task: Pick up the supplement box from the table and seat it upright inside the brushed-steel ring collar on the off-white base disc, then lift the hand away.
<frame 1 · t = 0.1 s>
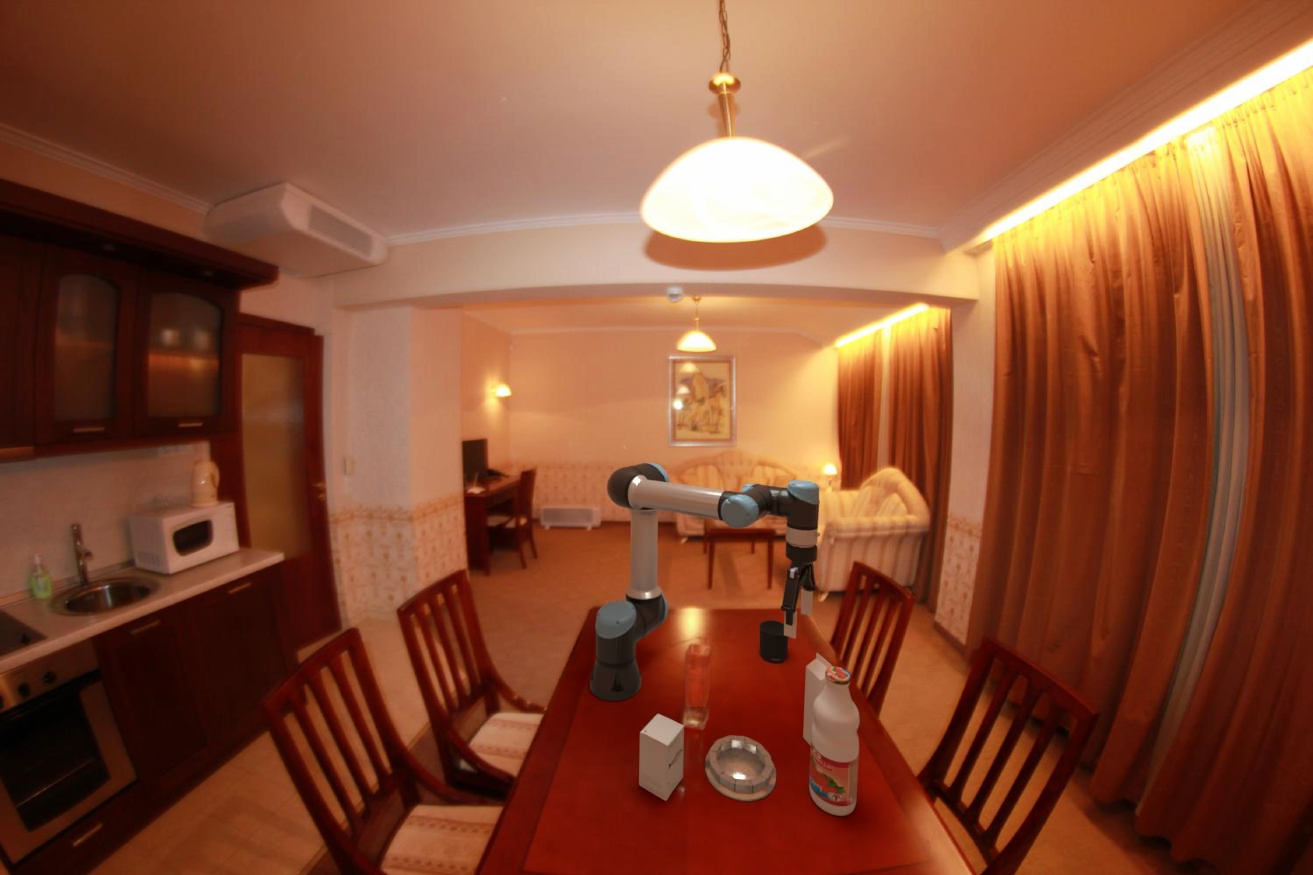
hand: (798, 624, 112), 28 cm above the table, tool pointing down, fingers open, 13 cm apart
supplement box: (661, 782, 98), on the table
ring seat: (740, 770, 101), on the table
black smart speaker: (773, 656, 147), on the table
fruit juice: (832, 797, 95), on the table
milk: (820, 744, 110), on the table
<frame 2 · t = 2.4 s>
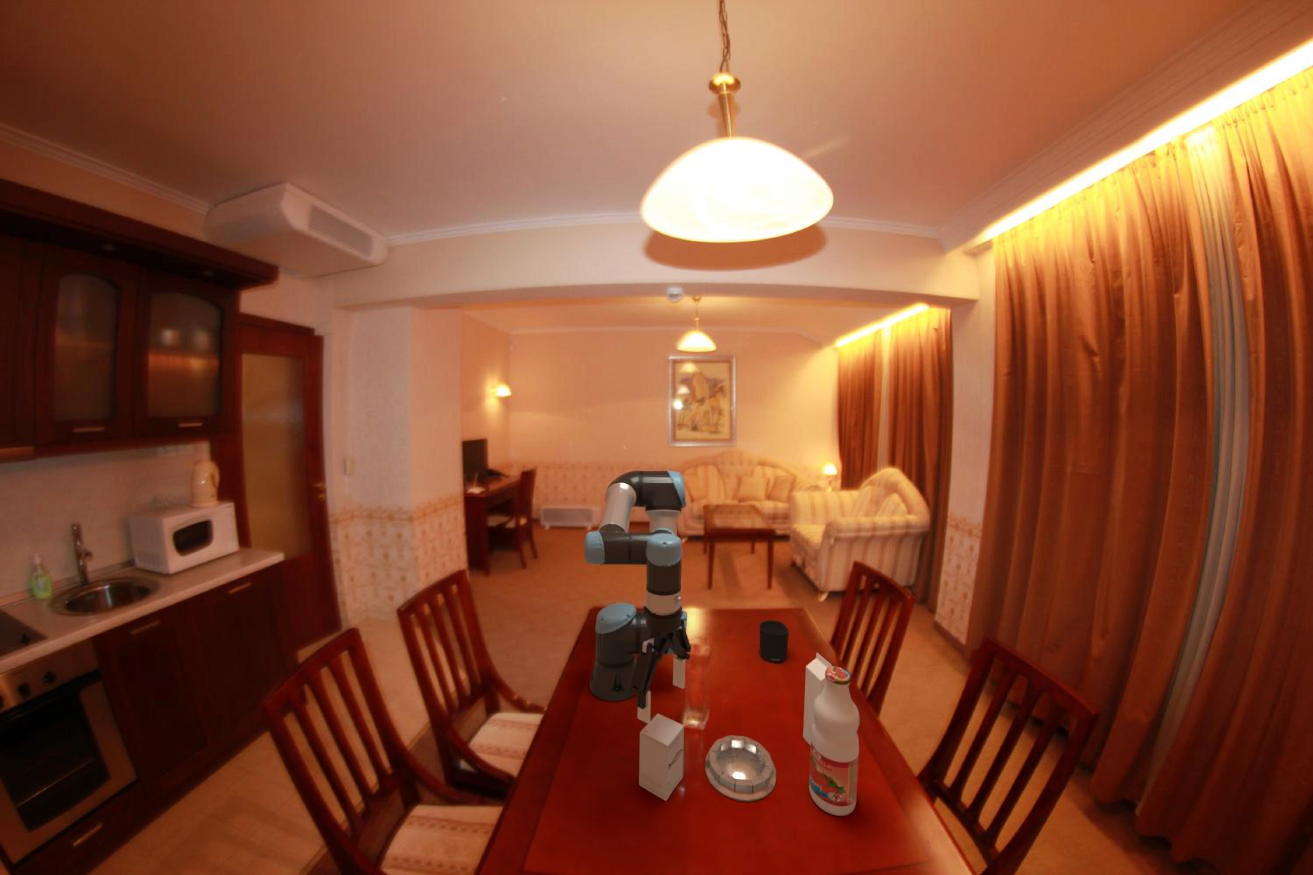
hand: (662, 702, 96), 19 cm above the table, tool pointing down, fingers open, 13 cm apart
nothing on the table moved.
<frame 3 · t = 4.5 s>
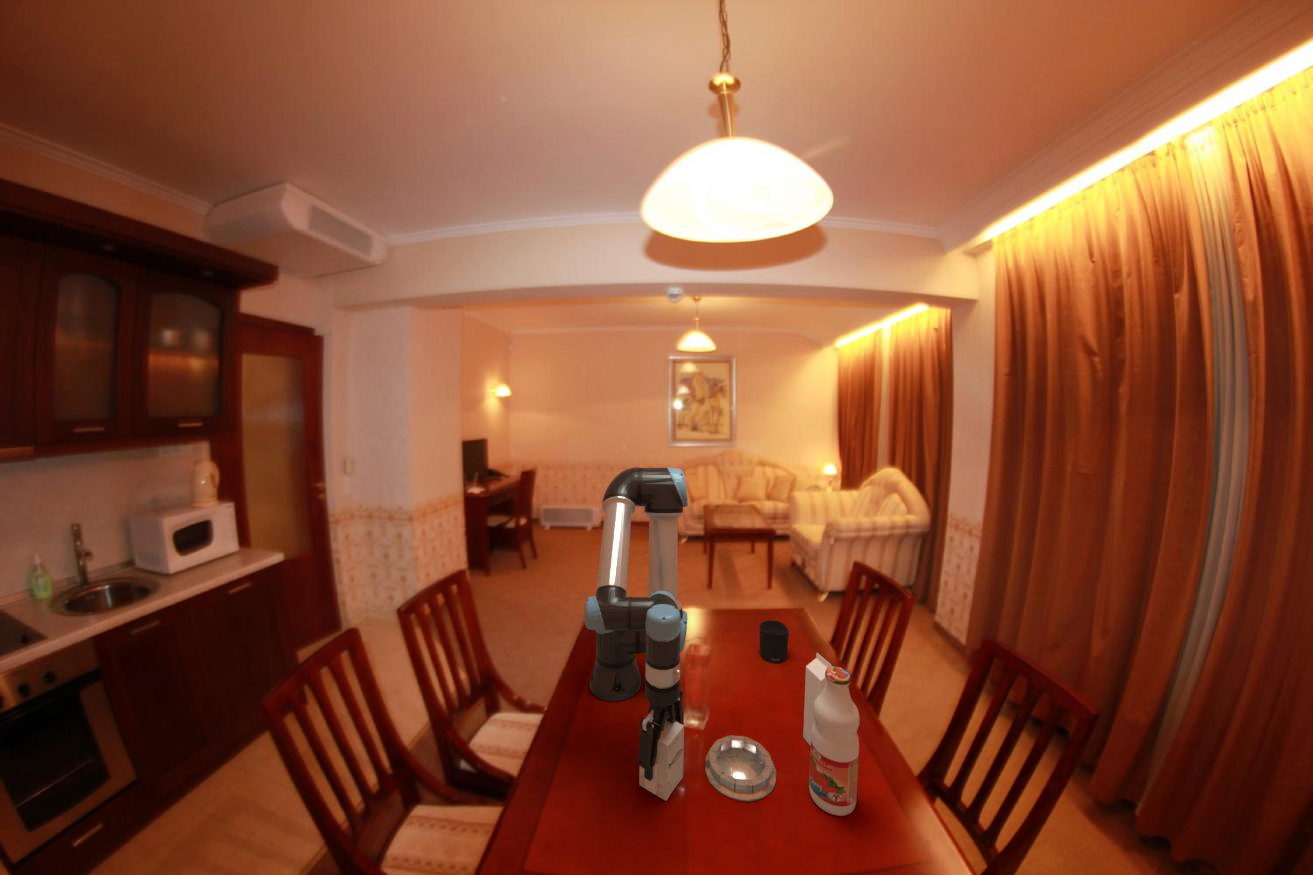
hand: (661, 776, 98), 1 cm above the table, tool pointing down, fingers closed on supplement box, 7 cm apart
supplement box: (661, 782, 98), on the table, touching gripper
everything else where it was.
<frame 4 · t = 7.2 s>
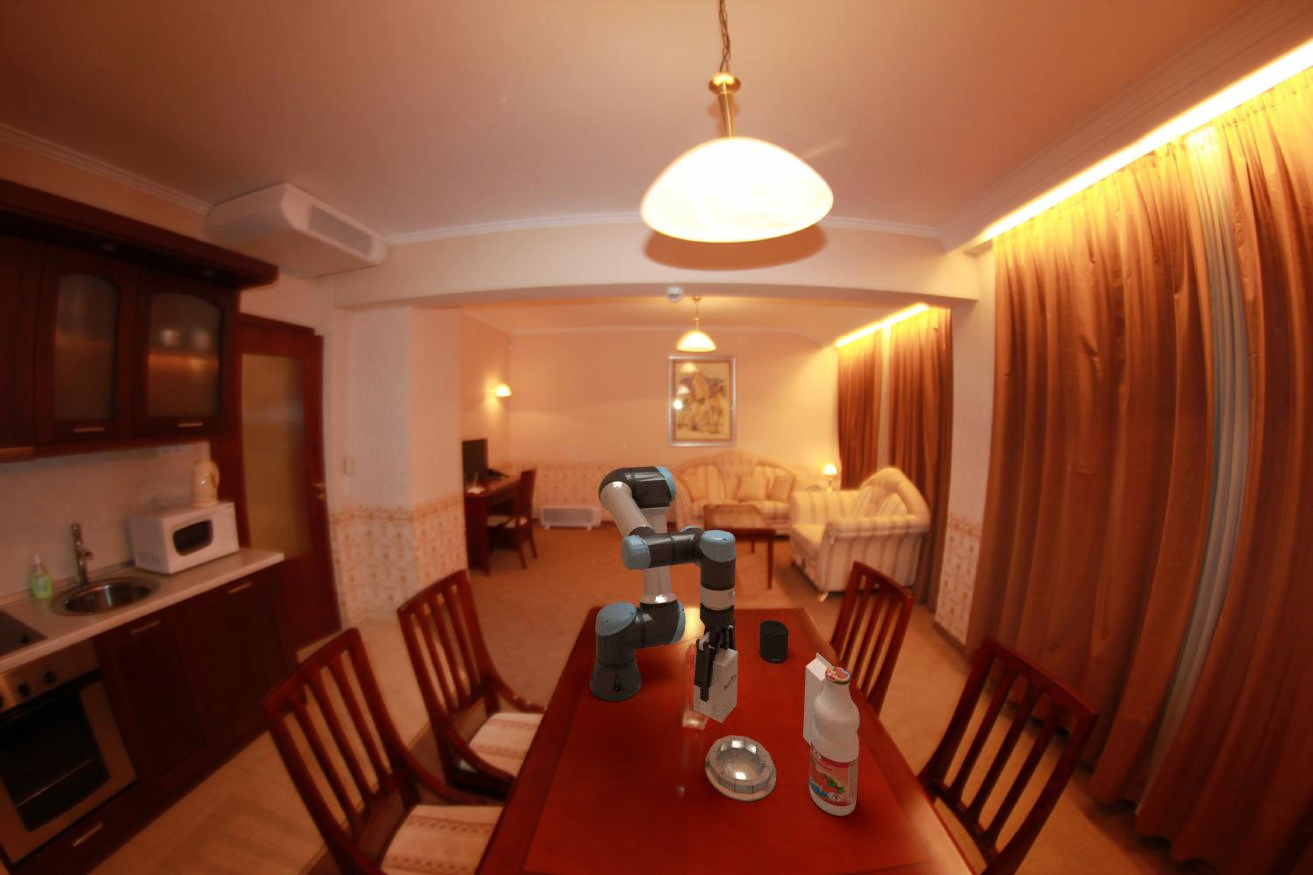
hand: (715, 702, 98), 17 cm above the table, tool pointing down, fingers closed on supplement box, 7 cm apart
supplement box: (715, 708, 98), point 16 cm above the table, touching gripper
everything else where it was.
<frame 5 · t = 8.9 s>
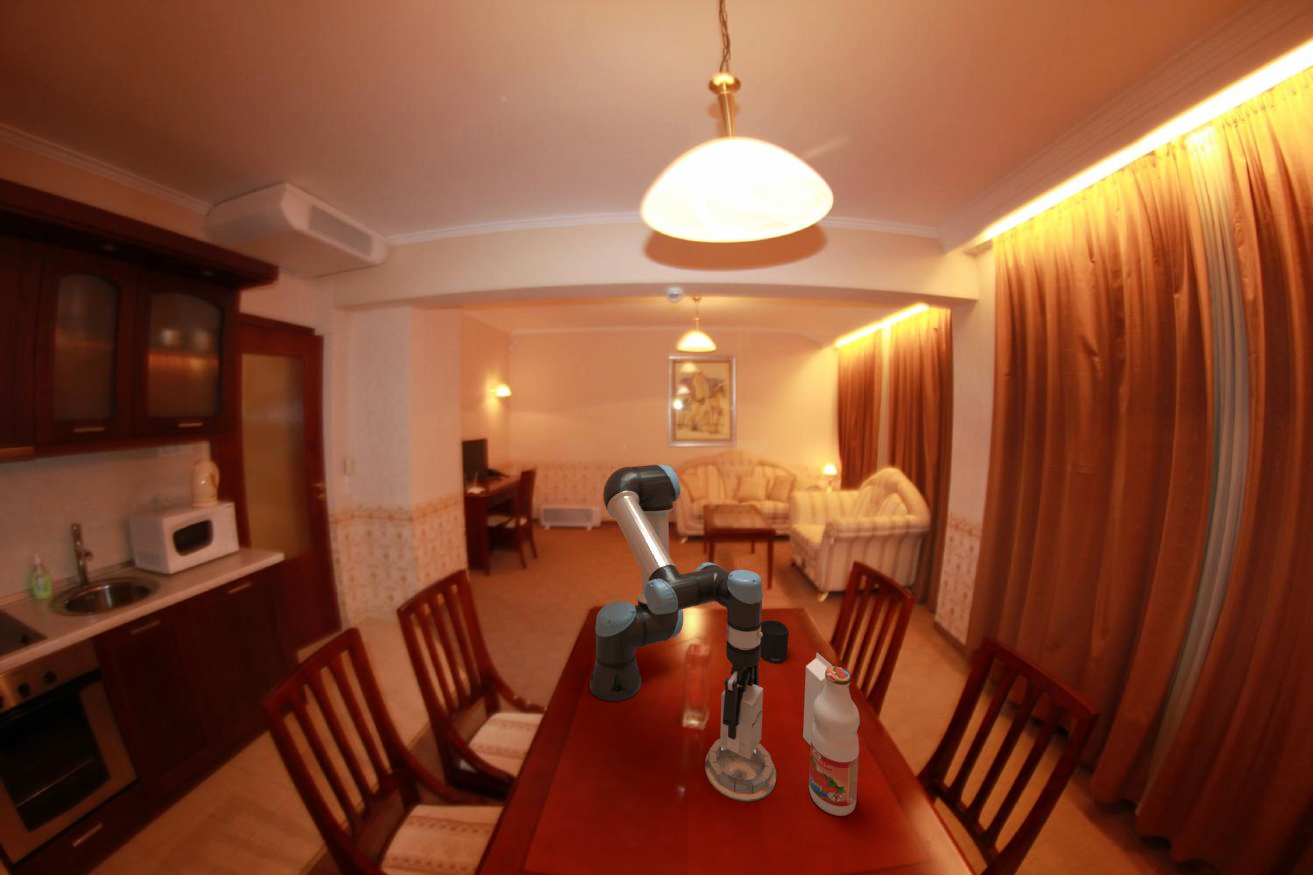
hand: (740, 737, 101), 8 cm above the table, tool pointing down, fingers closed on supplement box, 7 cm apart
supplement box: (741, 743, 101), point 7 cm above the table, touching gripper
everything else where it was.
when the fingers open (4 cm above the table, at t = 10.0 s): supplement box drops 2 cm, resting on ring seat.
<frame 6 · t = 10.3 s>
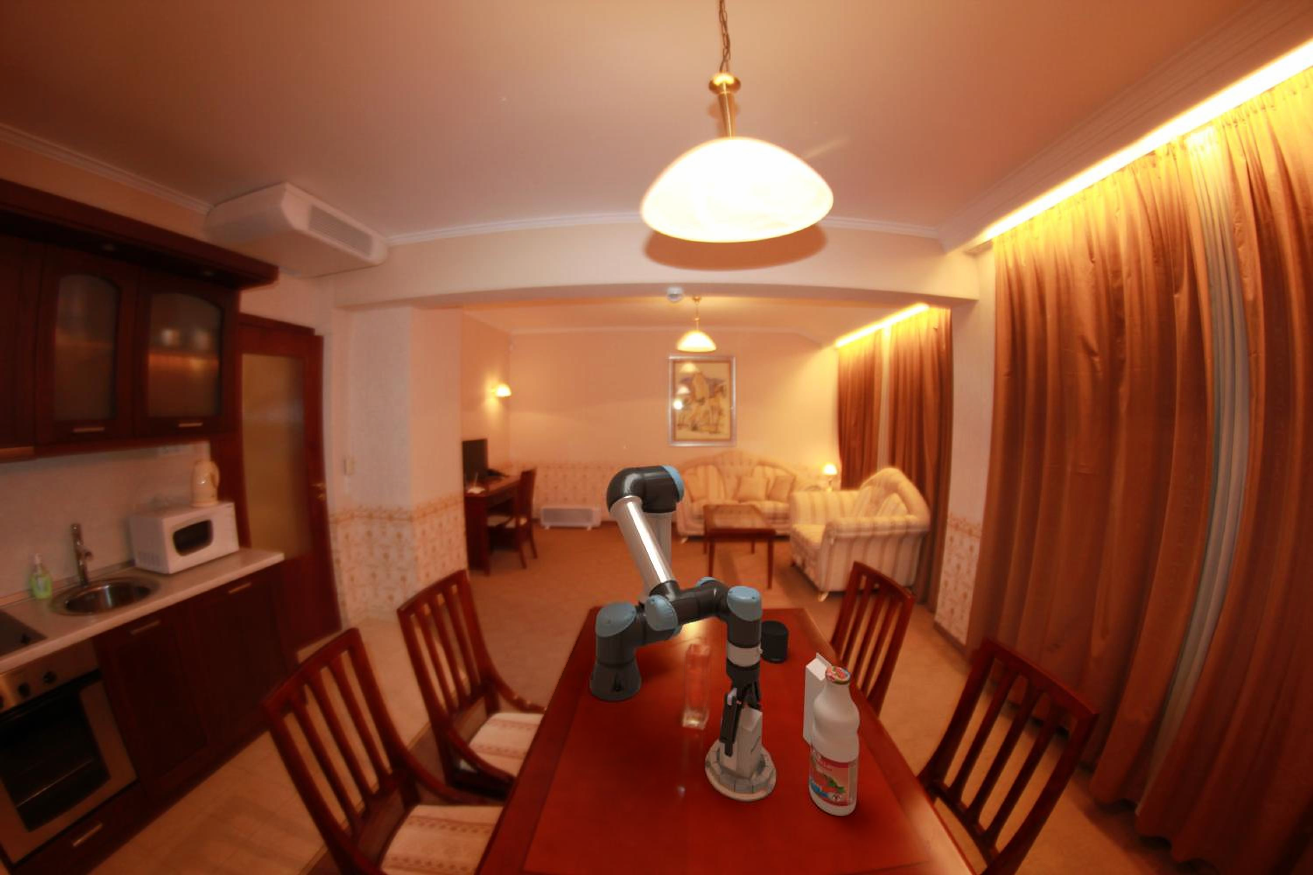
hand: (740, 750, 101), 5 cm above the table, tool pointing down, fingers open, 10 cm apart
supplement box: (740, 767, 101), point 1 cm above the table, touching ring seat
everything else where it was.
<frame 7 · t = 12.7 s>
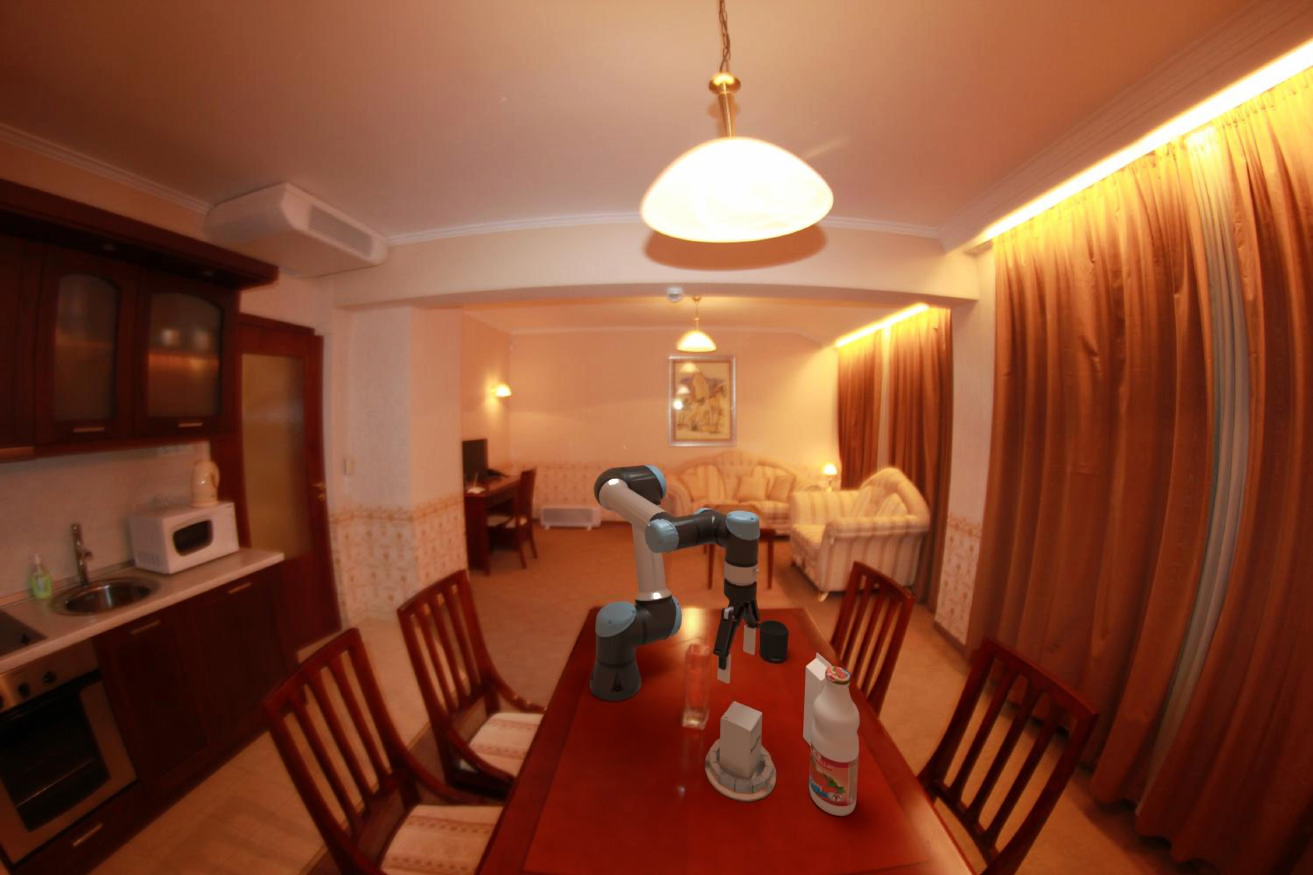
hand: (736, 665, 104), 22 cm above the table, tool pointing down, fingers open, 13 cm apart
nothing on the table moved.
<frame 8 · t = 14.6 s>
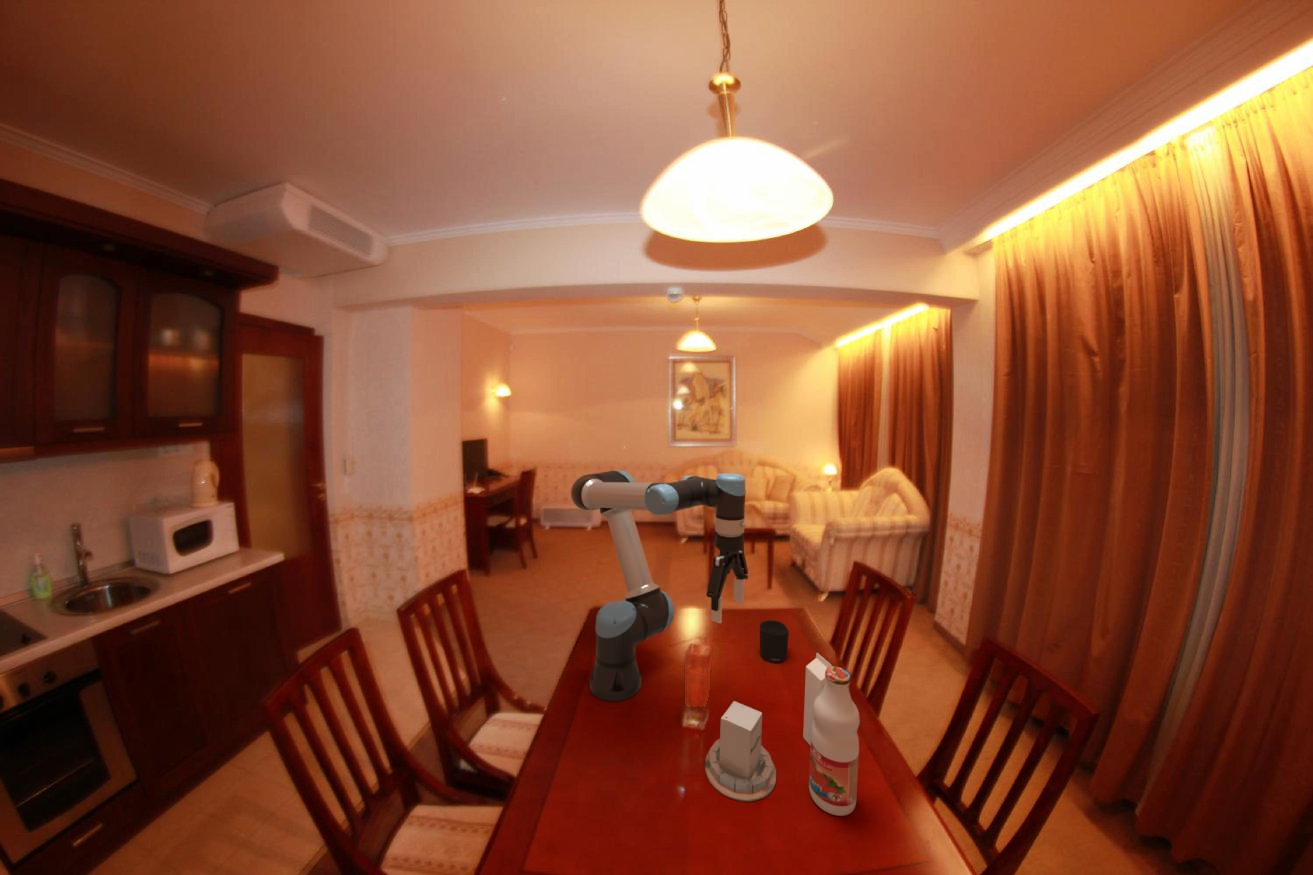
hand: (727, 611, 118), 29 cm above the table, tool pointing down, fingers open, 13 cm apart
nothing on the table moved.
at the end: supplement box 0.0 cm off-centre on the ring seat, point 0.6 cm above the ring seat's base; supplement box tilted 0°; the gripper is holding nothing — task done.
